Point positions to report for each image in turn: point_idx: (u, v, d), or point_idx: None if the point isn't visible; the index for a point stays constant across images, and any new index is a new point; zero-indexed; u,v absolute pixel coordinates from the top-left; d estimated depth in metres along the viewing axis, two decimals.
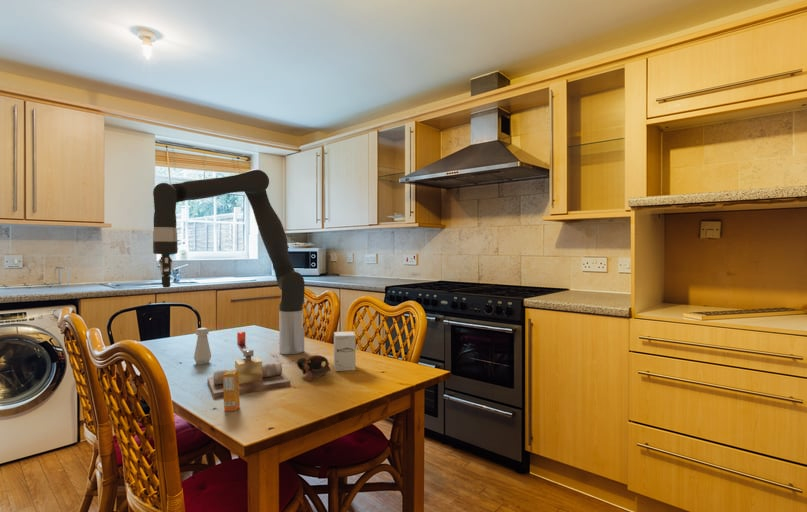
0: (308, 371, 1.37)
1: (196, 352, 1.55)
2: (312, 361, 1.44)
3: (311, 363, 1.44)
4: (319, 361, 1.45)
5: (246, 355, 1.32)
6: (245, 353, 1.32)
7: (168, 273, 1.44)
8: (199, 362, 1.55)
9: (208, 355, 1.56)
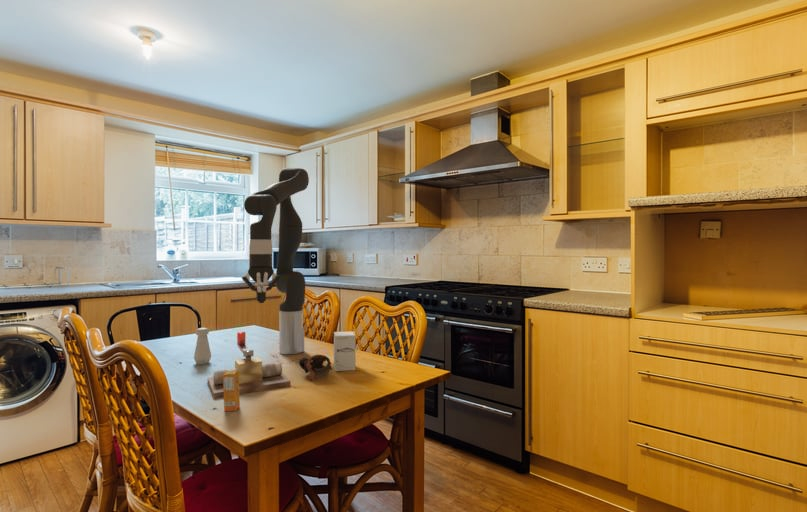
0: (310, 370, 1.38)
1: (196, 352, 1.55)
2: (314, 360, 1.45)
3: (313, 362, 1.45)
4: (321, 360, 1.46)
5: (246, 355, 1.32)
6: (245, 353, 1.32)
7: None
8: (199, 362, 1.55)
9: (208, 355, 1.56)
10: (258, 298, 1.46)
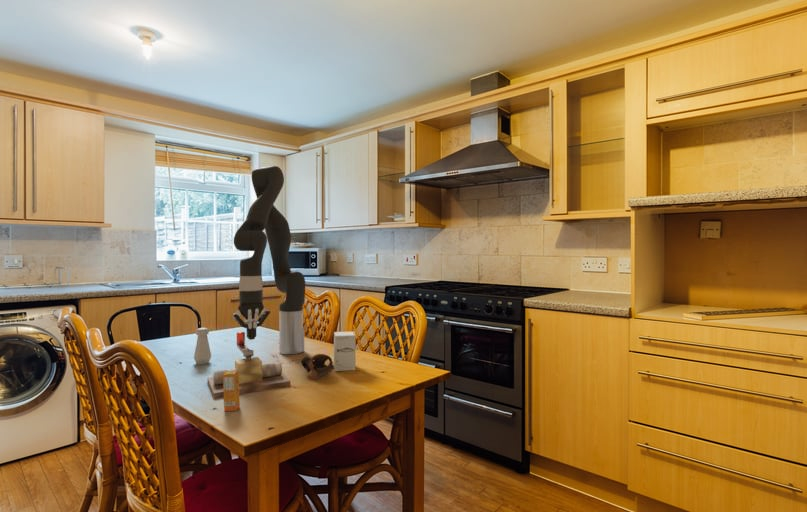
0: (313, 370, 1.39)
1: (196, 352, 1.55)
2: (316, 360, 1.45)
3: (315, 362, 1.46)
4: (322, 360, 1.46)
5: (246, 355, 1.32)
6: (245, 353, 1.32)
7: None
8: (199, 362, 1.55)
9: (208, 355, 1.56)
10: (249, 335, 1.44)
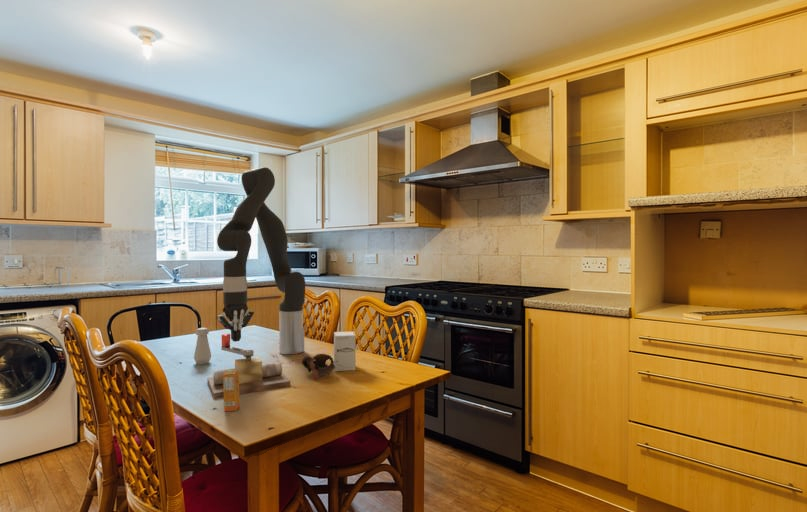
0: (314, 369, 1.39)
1: (196, 352, 1.55)
2: (317, 359, 1.46)
3: (316, 361, 1.46)
4: (323, 359, 1.47)
5: (248, 355, 1.32)
6: (247, 353, 1.32)
7: None
8: (199, 362, 1.55)
9: (208, 355, 1.56)
10: (234, 336, 1.42)
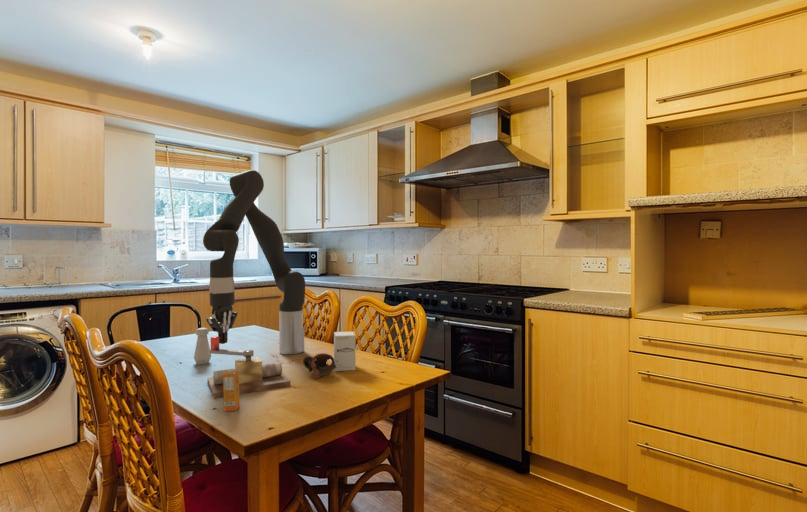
0: (315, 369, 1.39)
1: (196, 352, 1.55)
2: (318, 359, 1.46)
3: (317, 361, 1.46)
4: (324, 359, 1.47)
5: (250, 355, 1.33)
6: (249, 353, 1.32)
7: None
8: (199, 362, 1.55)
9: (208, 355, 1.56)
10: (222, 339, 1.38)
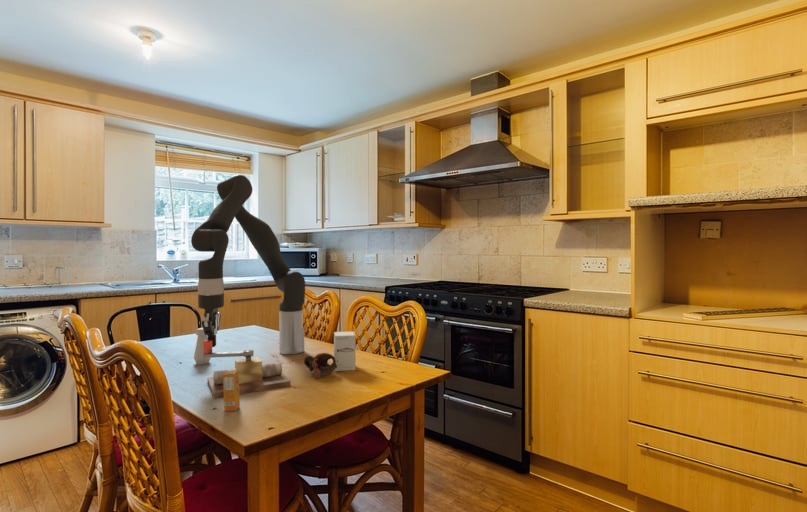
0: (316, 368, 1.40)
1: (196, 352, 1.55)
2: (319, 359, 1.47)
3: (317, 361, 1.47)
4: (325, 359, 1.48)
5: (252, 354, 1.33)
6: (251, 353, 1.33)
7: None
8: (199, 362, 1.55)
9: None
10: (213, 342, 1.34)
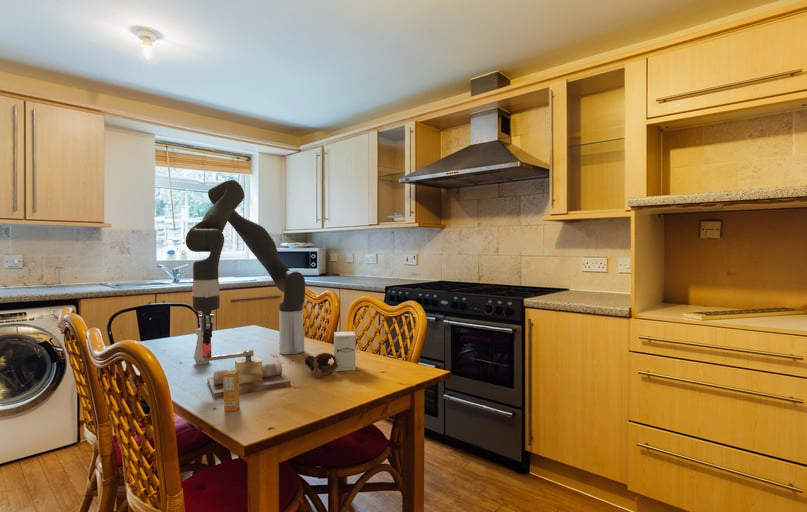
0: (317, 368, 1.40)
1: (196, 352, 1.55)
2: (319, 359, 1.47)
3: (318, 361, 1.47)
4: (326, 359, 1.48)
5: (253, 354, 1.34)
6: (252, 352, 1.33)
7: None
8: (199, 362, 1.55)
9: None
10: None
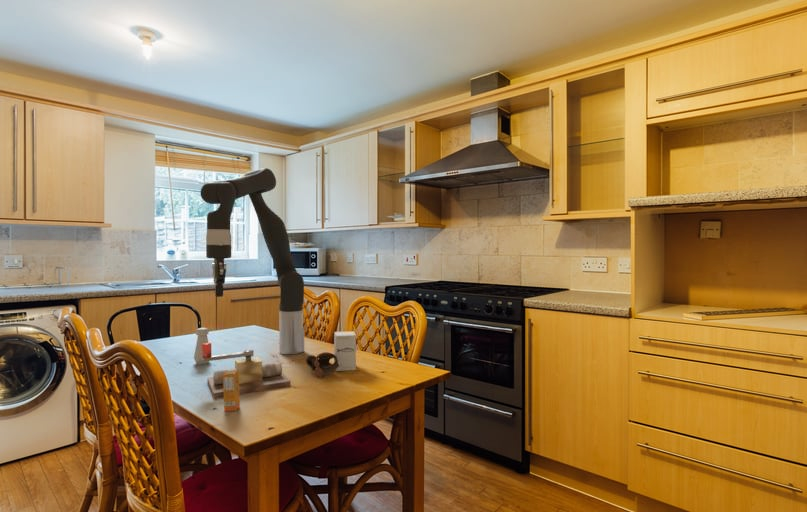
0: (318, 368, 1.41)
1: (196, 352, 1.55)
2: (321, 358, 1.48)
3: (320, 360, 1.48)
4: (327, 358, 1.49)
5: (253, 354, 1.34)
6: (252, 352, 1.33)
7: None
8: (199, 362, 1.55)
9: None
10: (222, 291, 1.39)
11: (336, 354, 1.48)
